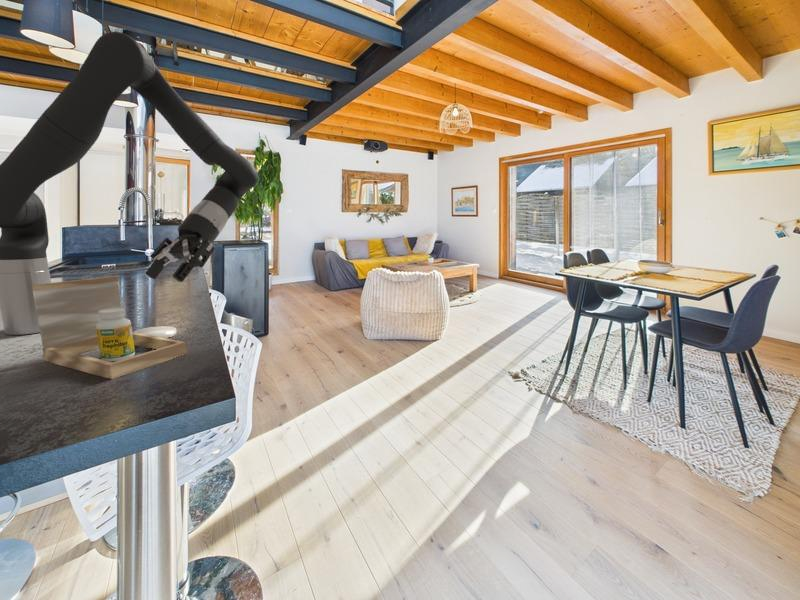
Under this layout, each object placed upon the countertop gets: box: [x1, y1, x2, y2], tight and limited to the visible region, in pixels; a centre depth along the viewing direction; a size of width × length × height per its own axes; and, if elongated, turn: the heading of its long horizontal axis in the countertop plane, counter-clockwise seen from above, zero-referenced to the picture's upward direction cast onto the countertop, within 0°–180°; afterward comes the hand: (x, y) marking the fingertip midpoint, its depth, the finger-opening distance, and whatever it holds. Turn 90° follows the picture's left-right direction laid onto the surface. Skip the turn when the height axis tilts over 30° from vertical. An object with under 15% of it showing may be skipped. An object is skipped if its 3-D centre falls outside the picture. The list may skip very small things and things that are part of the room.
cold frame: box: [31, 275, 188, 380], centre depth 71 cm, size 20×14×14 cm
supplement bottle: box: [96, 307, 136, 362], centre depth 72 cm, size 5×5×10 cm
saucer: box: [132, 325, 178, 338], centre depth 86 cm, size 9×9×1 cm
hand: (163, 278), depth 79 cm, fingers open, 8 cm apart
